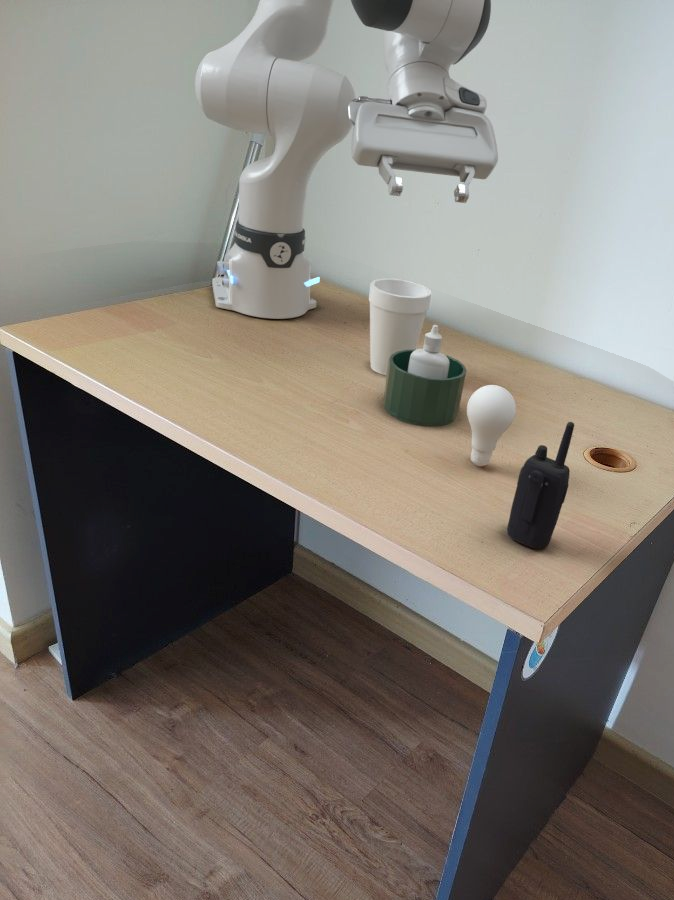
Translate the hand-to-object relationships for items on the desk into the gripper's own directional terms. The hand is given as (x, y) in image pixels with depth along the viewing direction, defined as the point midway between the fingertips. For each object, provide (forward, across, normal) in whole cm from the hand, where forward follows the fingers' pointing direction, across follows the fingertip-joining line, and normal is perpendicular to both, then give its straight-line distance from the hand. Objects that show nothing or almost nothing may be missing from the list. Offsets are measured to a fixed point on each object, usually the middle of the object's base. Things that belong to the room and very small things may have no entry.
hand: (429, 196), depth 102 cm
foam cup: (+15, 0, +24) cm, 28 cm away
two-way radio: (+50, +3, -11) cm, 51 cm away
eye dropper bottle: (+25, +1, +13) cm, 28 cm away
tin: (+25, +1, +13) cm, 29 cm away
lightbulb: (+37, +4, +2) cm, 37 cm away
